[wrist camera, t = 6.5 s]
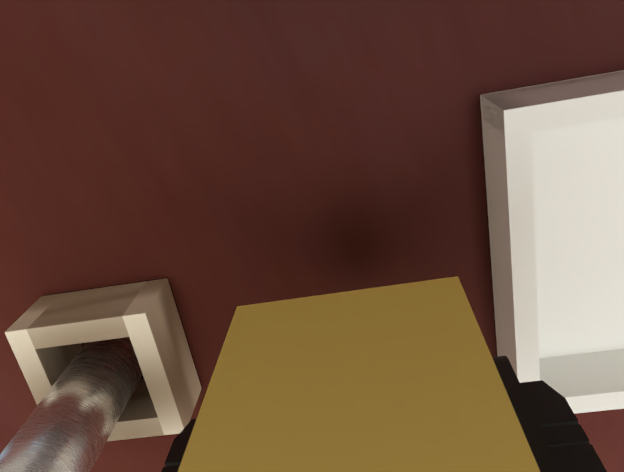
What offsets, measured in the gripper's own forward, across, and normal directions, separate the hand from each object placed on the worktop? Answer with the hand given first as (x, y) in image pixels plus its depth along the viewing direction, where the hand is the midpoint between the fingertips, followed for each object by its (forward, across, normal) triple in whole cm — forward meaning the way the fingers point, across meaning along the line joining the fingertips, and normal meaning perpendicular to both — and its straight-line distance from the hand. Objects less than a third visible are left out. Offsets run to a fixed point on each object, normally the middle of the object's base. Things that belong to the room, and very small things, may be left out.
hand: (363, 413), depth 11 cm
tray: (+10, -9, +1) cm, 13 cm away
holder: (+10, +10, +3) cm, 14 cm away
